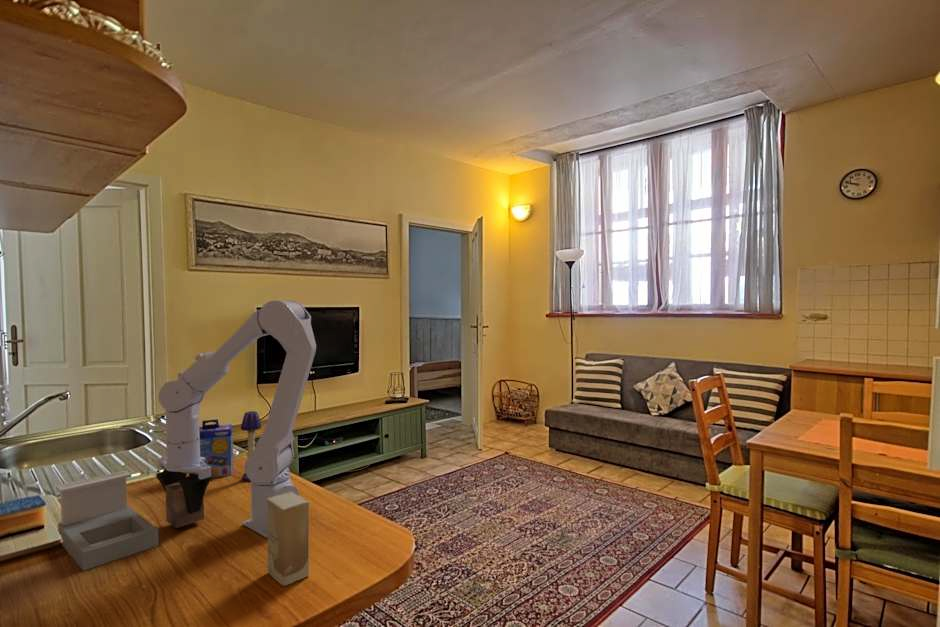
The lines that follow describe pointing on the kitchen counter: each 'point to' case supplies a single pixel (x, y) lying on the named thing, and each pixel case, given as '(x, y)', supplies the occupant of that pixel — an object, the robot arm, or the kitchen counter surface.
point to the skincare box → (288, 538)
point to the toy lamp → (250, 432)
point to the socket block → (102, 521)
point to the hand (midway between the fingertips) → (184, 508)
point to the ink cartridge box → (217, 447)
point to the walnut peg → (179, 507)
